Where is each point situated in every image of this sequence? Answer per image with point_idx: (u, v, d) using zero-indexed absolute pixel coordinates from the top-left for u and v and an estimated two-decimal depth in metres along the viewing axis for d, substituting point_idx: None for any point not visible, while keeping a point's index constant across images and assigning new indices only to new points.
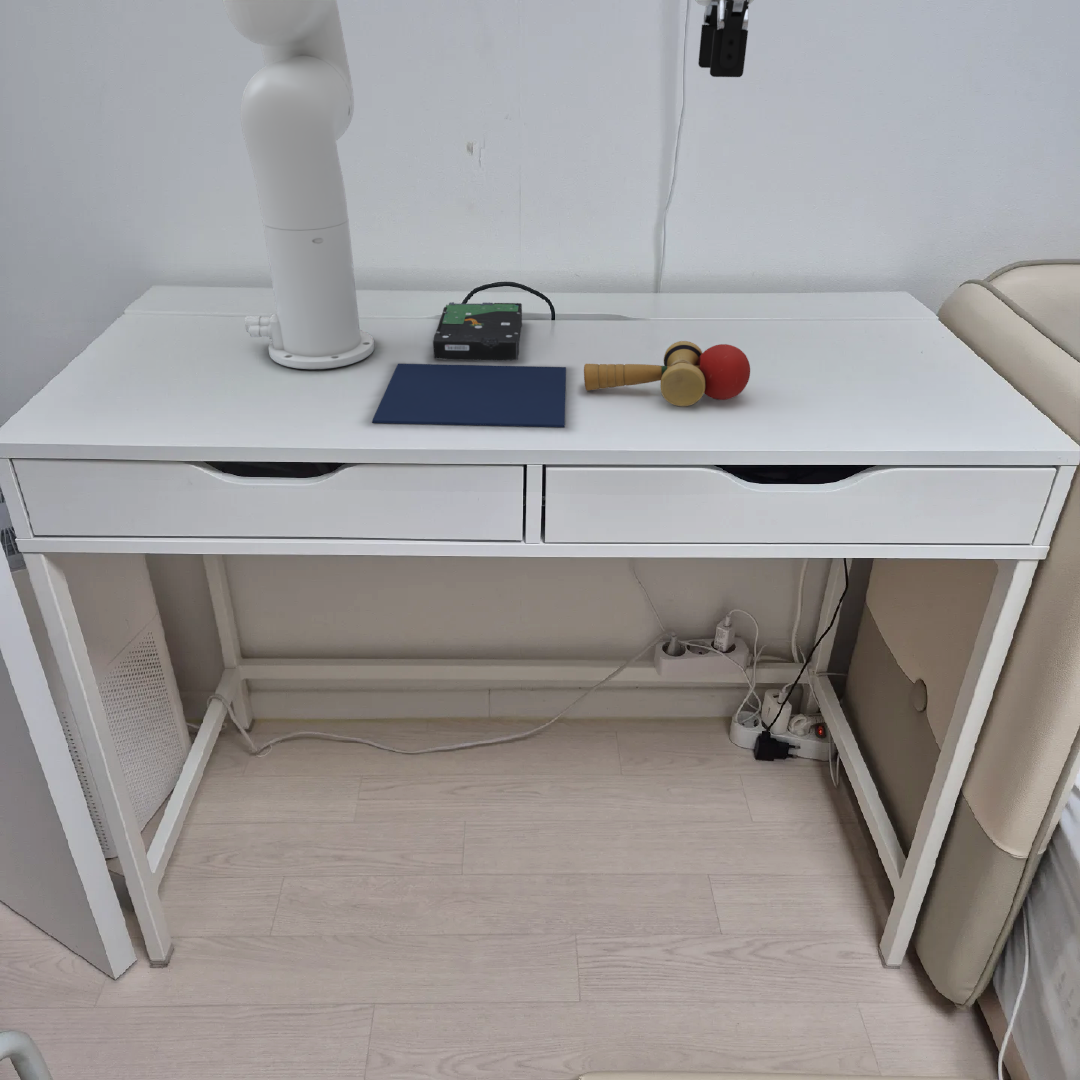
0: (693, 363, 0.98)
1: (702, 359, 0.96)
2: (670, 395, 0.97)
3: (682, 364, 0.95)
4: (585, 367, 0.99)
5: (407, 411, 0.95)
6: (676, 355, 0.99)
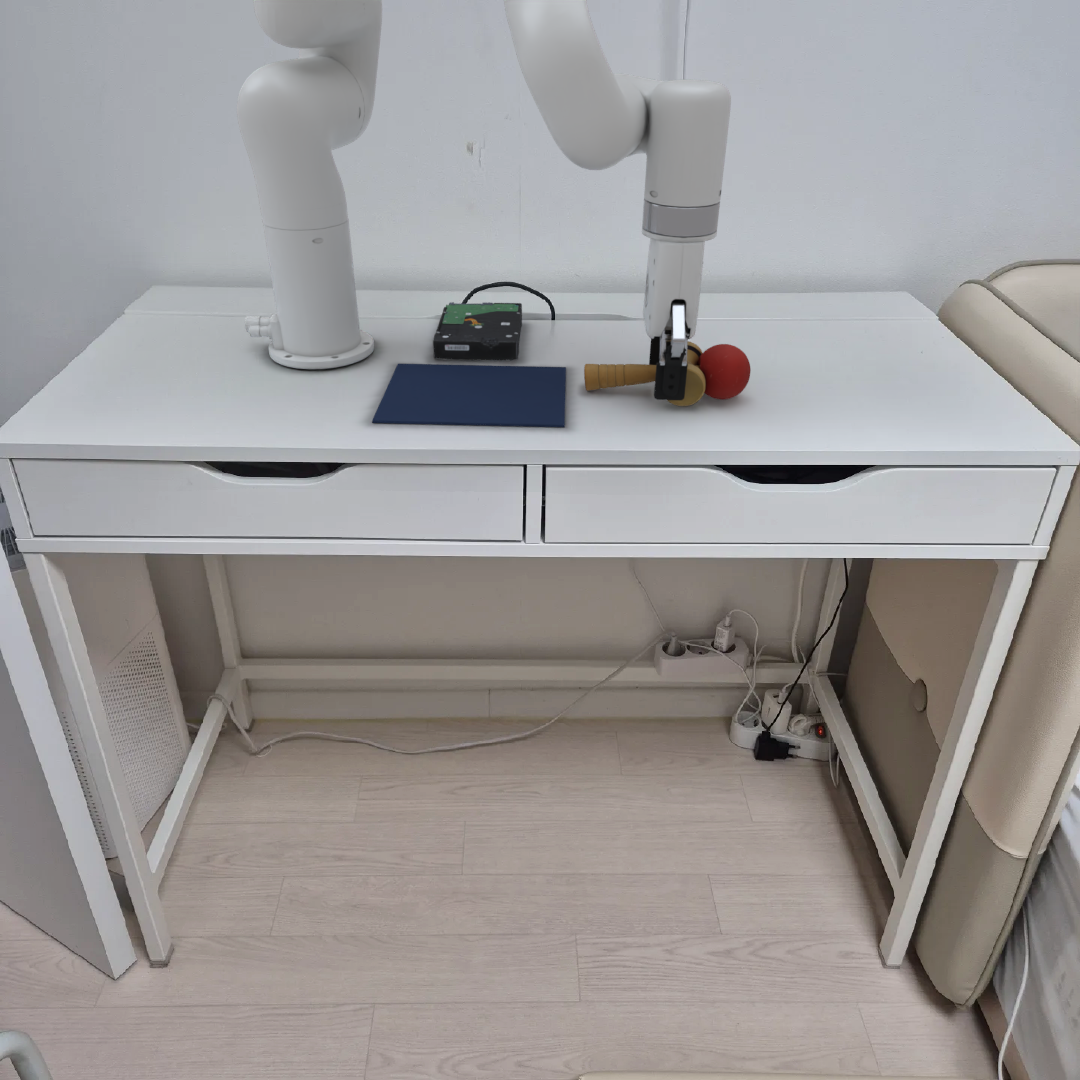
0: (693, 363, 0.98)
1: (702, 359, 0.96)
2: None
3: None
4: (585, 367, 0.99)
5: (407, 411, 0.95)
6: None
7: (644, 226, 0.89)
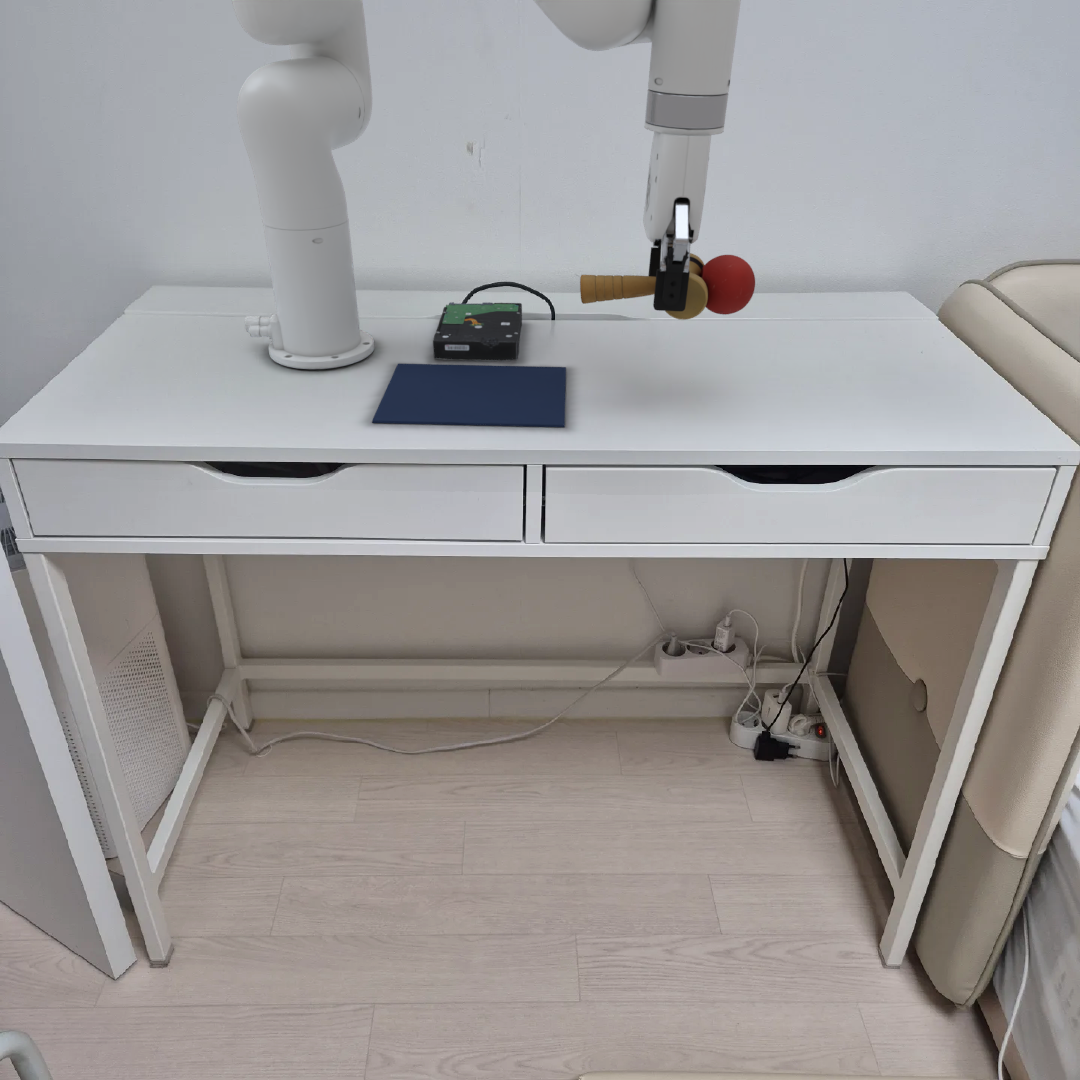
0: None
1: (705, 269, 0.92)
2: None
3: None
4: (581, 277, 0.94)
5: (407, 411, 0.95)
6: None
7: (647, 119, 0.84)
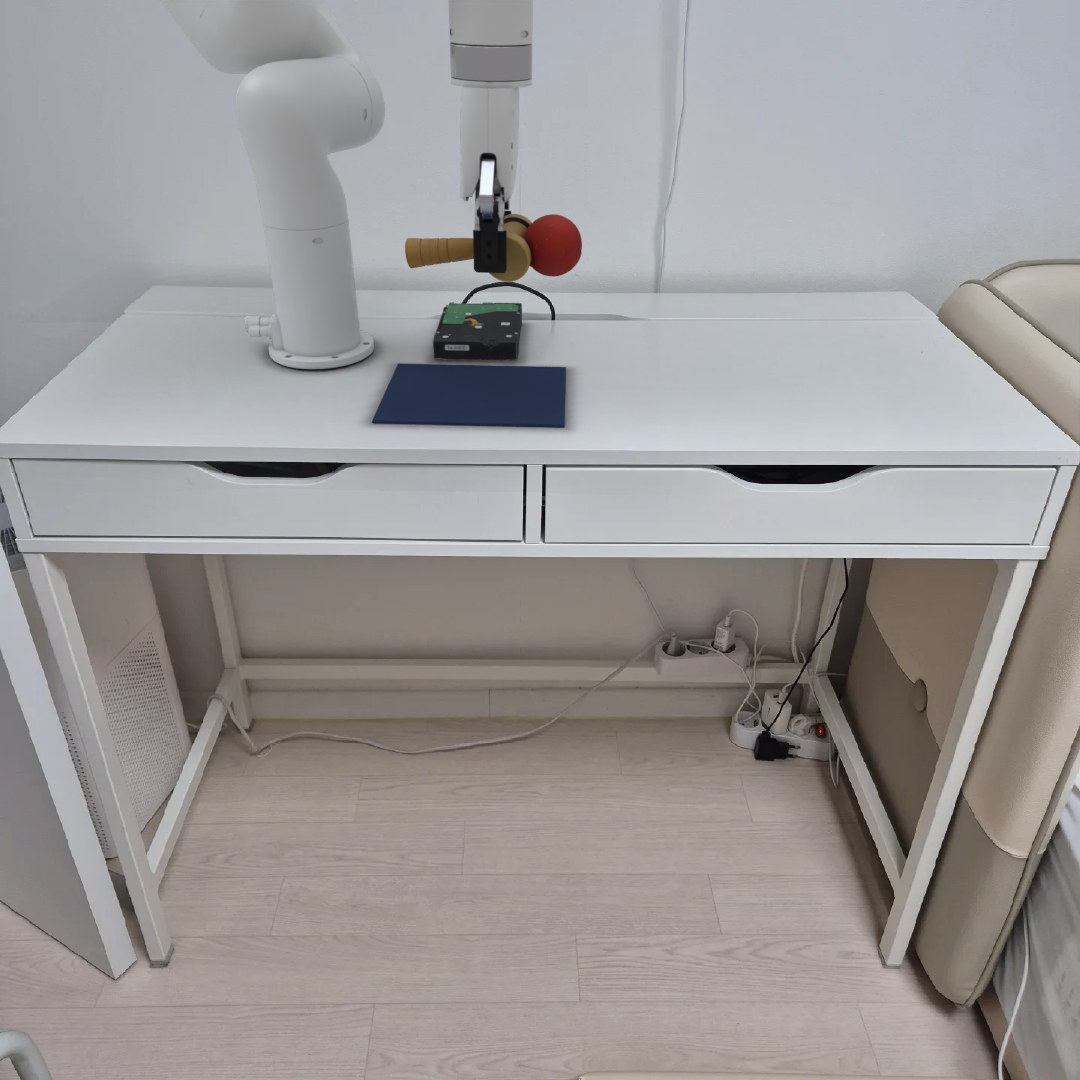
0: (522, 236, 0.91)
1: (528, 229, 0.89)
2: None
3: None
4: (406, 241, 0.92)
5: (407, 411, 0.95)
6: (504, 228, 0.91)
7: (451, 73, 0.82)
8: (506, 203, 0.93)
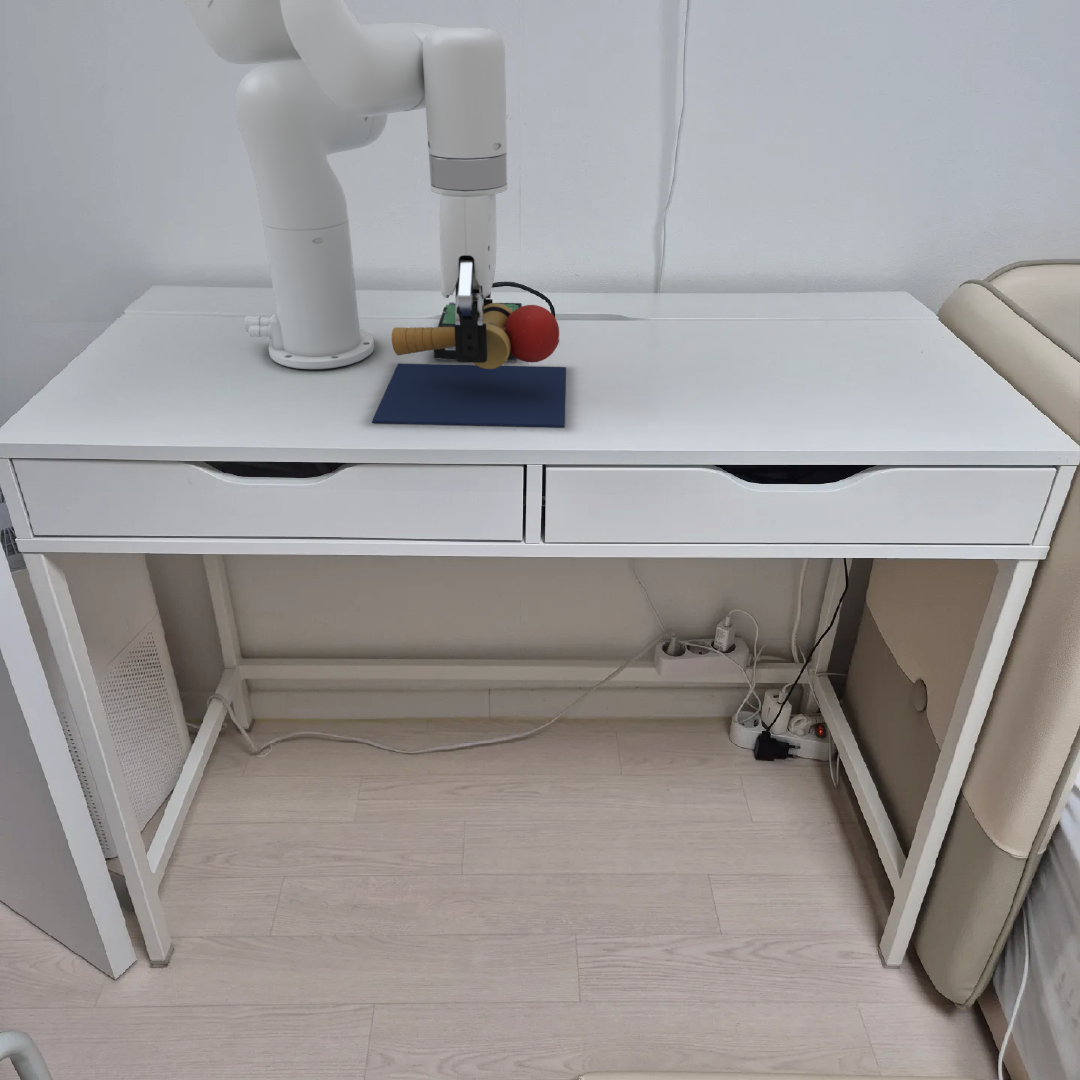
0: (502, 325, 0.96)
1: (508, 320, 0.94)
2: None
3: None
4: (393, 331, 0.97)
5: (407, 411, 0.95)
6: (485, 317, 0.96)
7: (430, 181, 0.87)
8: None
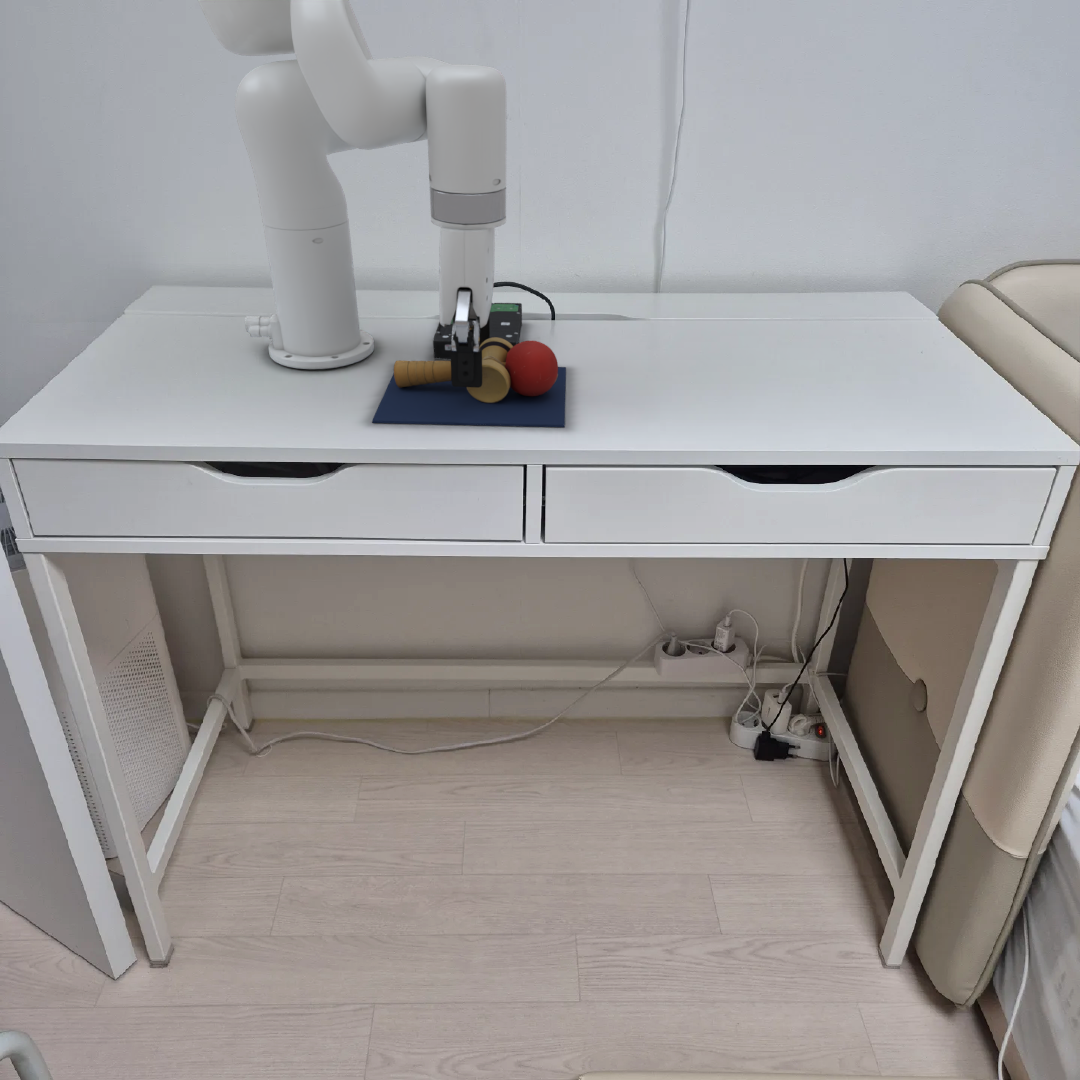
0: (502, 359, 0.98)
1: (508, 355, 0.96)
2: (477, 392, 0.97)
3: (485, 360, 0.94)
4: (395, 364, 0.99)
5: (407, 411, 0.95)
6: (486, 351, 0.98)
7: (431, 212, 0.88)
8: None
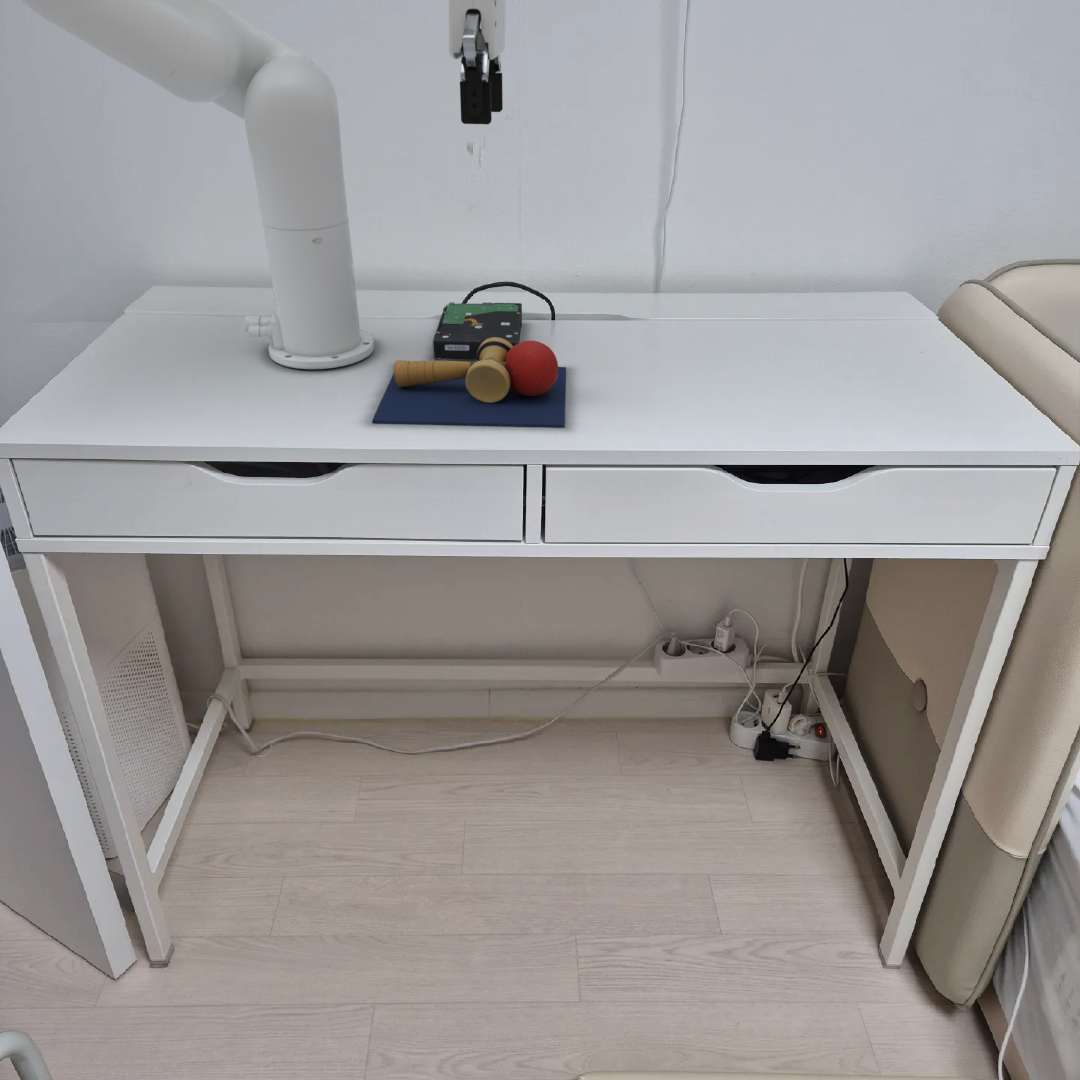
0: (502, 359, 0.98)
1: (508, 355, 0.96)
2: (477, 392, 0.97)
3: (485, 360, 0.94)
4: (395, 364, 0.99)
5: (407, 411, 0.95)
6: (486, 351, 0.98)
7: None
8: (497, 65, 1.01)
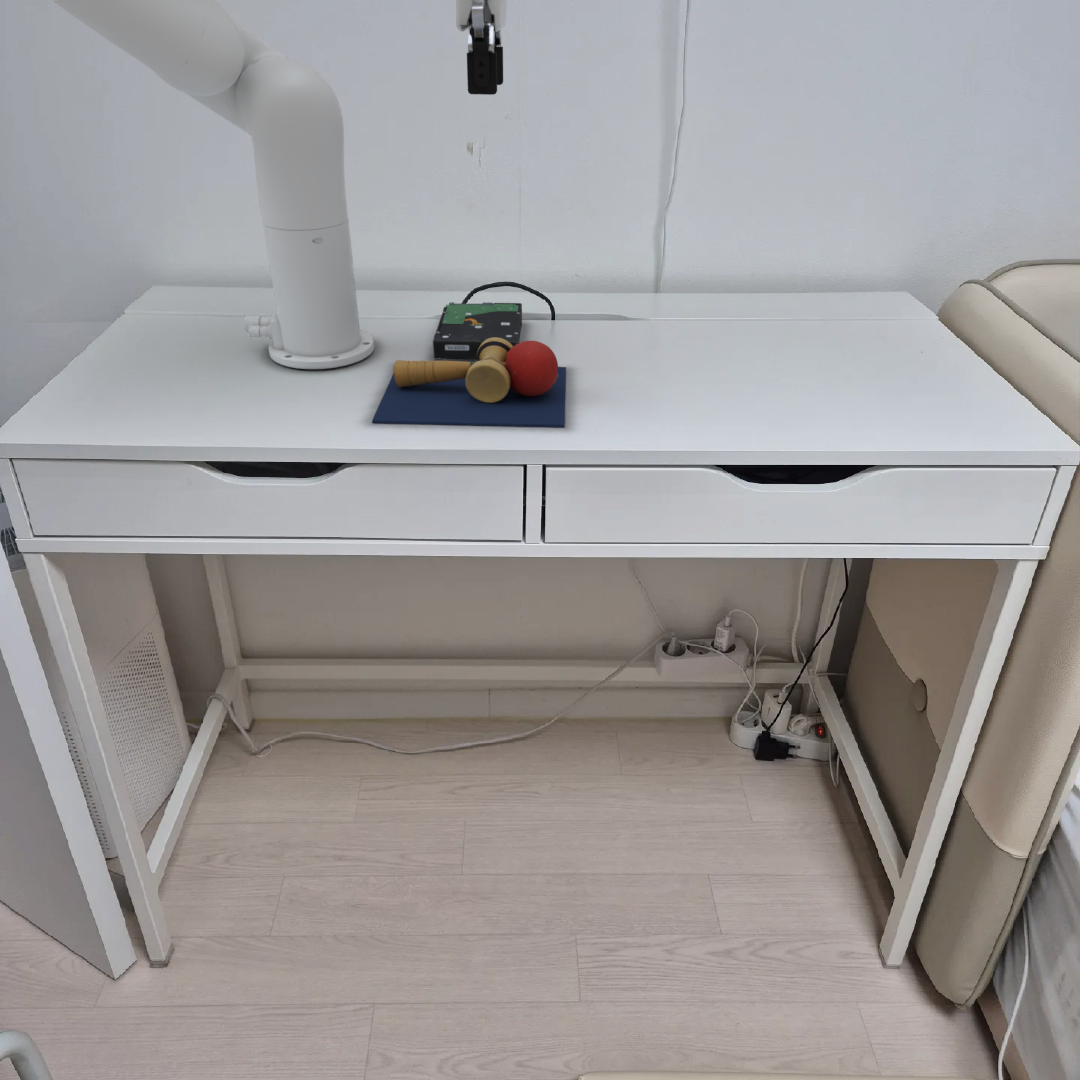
0: (502, 359, 0.98)
1: (508, 355, 0.96)
2: (477, 392, 0.97)
3: (485, 360, 0.94)
4: (395, 364, 0.99)
5: (407, 411, 0.95)
6: (486, 351, 0.98)
7: None
8: (498, 38, 1.04)
